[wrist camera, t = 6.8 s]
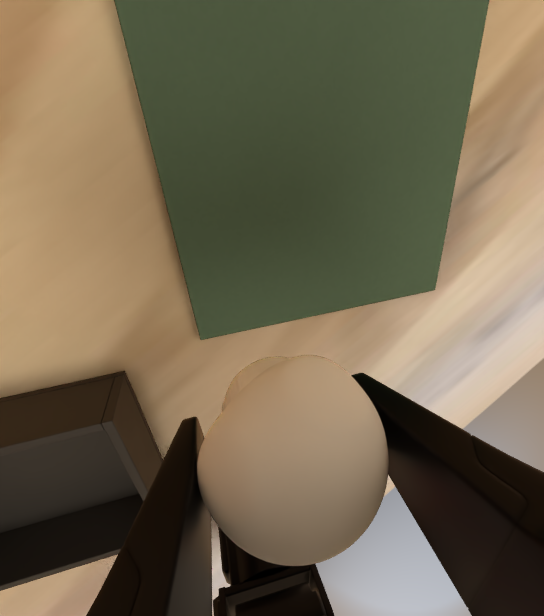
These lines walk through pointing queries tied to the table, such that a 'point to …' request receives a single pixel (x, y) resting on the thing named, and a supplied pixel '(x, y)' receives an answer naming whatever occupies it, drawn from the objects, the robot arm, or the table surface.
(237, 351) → the table surface
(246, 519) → the mushroom
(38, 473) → the black box
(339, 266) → the placemat
